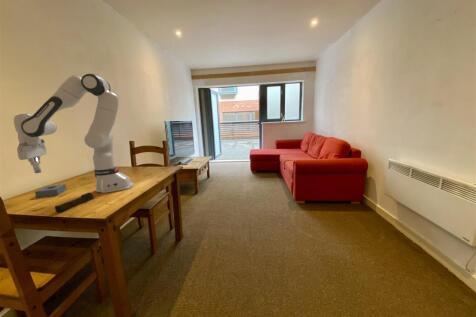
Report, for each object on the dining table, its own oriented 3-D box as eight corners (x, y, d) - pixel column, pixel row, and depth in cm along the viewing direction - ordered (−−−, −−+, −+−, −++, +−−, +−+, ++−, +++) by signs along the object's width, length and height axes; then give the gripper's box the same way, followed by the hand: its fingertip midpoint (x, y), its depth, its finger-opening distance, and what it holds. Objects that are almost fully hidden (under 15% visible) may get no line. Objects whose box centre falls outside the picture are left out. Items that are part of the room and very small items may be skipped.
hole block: (66, 189, 138) (65, 184, 137) (58, 195, 128) (56, 189, 127) (46, 191, 135) (45, 186, 134) (36, 197, 125) (34, 191, 124)
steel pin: (42, 171, 127) (38, 155, 125) (39, 172, 124) (35, 156, 122) (36, 172, 126) (32, 156, 124) (33, 173, 123) (29, 157, 121)
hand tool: (60, 213, 102) (58, 205, 101) (55, 212, 103) (53, 204, 102) (96, 199, 119) (95, 191, 118) (91, 198, 120) (90, 191, 120)
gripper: (25, 143, 112) (31, 167, 115) (45, 139, 132) (51, 160, 134) (10, 144, 111) (17, 168, 113) (33, 140, 130) (39, 162, 132)
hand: (36, 164), depth 124 cm, fingers closed on steel pin, 3 cm apart
